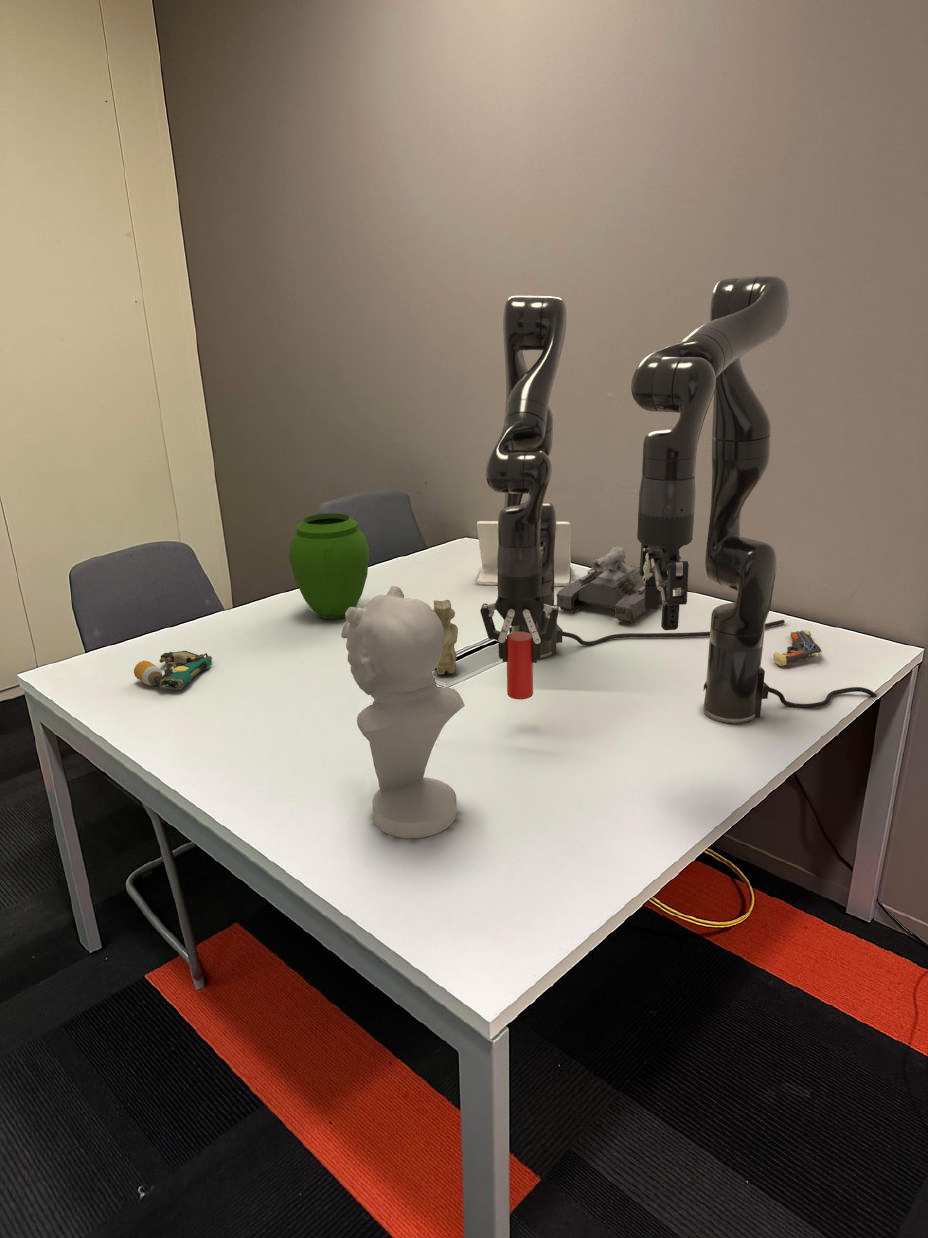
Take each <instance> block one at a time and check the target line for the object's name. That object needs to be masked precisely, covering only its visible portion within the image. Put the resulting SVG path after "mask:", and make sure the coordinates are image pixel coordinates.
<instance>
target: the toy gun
mask: <svg viewBox="0 0 928 1238" xmlns="http://www.w3.org/2000/svg"><path fill="white" fill-rule="evenodd" d="M790 638H791V641H792V642H791V645H790V646H787V647H786V649H787V651H786V653H780V652H777V651H775V652H773V653H772V656H773V660H774V662H775V664H776V665H778V666H780V667H781V666H782V667H783V666H786V665H790V664H795V663H797V662H800V661H804V660H807V659H810V658H811V657H815V656H816V657H819V656H820V654H821V653H823V650H822V649H821V647H820V645H818V644H817V643H816V642H815V641H814V640H813V638H812V632H811V630H800V631H799V630H796V631H791V632H790Z"/></svg>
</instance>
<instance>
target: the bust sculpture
mask: <svg viewBox="0 0 928 1238" xmlns="http://www.w3.org/2000/svg"><path fill="white" fill-rule="evenodd" d="M433 610H434V608H432V607H431V606H430V605H429V604H428V603H427V602H424V601H423V600H420V599H418V598H410V597H405V594H404V593H403V590H402V588H401V587H399V586H397V585H391V586H390V587H389V590H388V592H387V593H386V594H378V595H375V596H374V597H372V598H371V599H370V600H369V601H368V603H366V604H365V606H364V607H358V606H356V607H349V608H348V609H347V611H346V613H345V622H344V623H343V625H342V628H341V629H342V630H341V634H340V638H342V639H346V643H345V648H346V651H347V652H348V653H347V662H348V664H349V666H350V673H351V675H352V678H353V680H354V682H355V683H356V685H357V686H358V688H359V689H360V690H361V691H362V692H364V693H365V694H366V695H369V696H370V697H371V698H373V702H372V704H370V705H368V706H366V707H365V708H363V709H362V710H361V711H360V712H359V713H358V715H357V717H356V725H357V728H358V729H359V731H360V733H361V735H362V736H363V737H364V738H365V739H366V740H367V741H368V742H369V748H370V754H371V757H372V763H373V767H374V772H375V775H376V778H377V781H378V788H379V789H378V790H377V791H376V793H375V794H374V795H373V798H372V802H371V803H372V815H373V818H372V819H373V822H374V824H375V826H376V827H377V828H378V829H379V830H381V831H382V832H383V833H385V834H387V835H389V836H390V835H391V836H392V837H396V838H401V839H420V838H426V837H431V836H434V835H437V834H439V833H441V832H443V831H445V830H446V829H448V828H449V827H450V826H451V825H452V824H453V823H454V822H455V820H456V818H457V814H458V809H457V808H458V807H457V805H458V804H457V795H456V791H455V790H454V789H453V787H451V786H450V785H449V784H448V783H446V782H444V781H442V780H439V779H436V778H432V777H425V773H426V768H427V766H428V763H429V760H430V759H429V758H430V757H431V753H432V751H433V748H434V746H435V745H436V742H437V740H438V737H439V736H440V734H441V732H442V730H443V729H444V727H445V725H446V724H447V723H448V722H449V721H450V720H451V718H452V717H453V716H454V715H456V714H457V713H458V712H459V711H461V710H462V709H463V708H464V707H465V702H464V700H463V698H462V696H461V694H460V693H459V692H458V691H457V690H456V689H454V688H452V687H449V686H438V685H437V682H436V677H434V674H433V672H434V671H435V670H436V669H437V668H436V667H437V666H438V664H439V662H440V659H441V656H442V652H443V647H444V636H445V634H444V628H443V625H442V623H441V620H440V619H439V617H438V615H437V614H436V613H435V612H434V611H433Z"/></svg>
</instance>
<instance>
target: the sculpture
mask: <svg viewBox="0 0 928 1238" xmlns="http://www.w3.org/2000/svg"><path fill="white" fill-rule="evenodd" d="M433 611H434V612H435V613H436V614H437V615H438V617H439V619H440V620H441V623H442V625H443V628H444V634H445V636H444V647H443V652H442V656H441V659H440V662H439V664H438V666H437V667H436V668H435V669H436V671H437V674H438V675H445V674H446V672H447V673H448V674H455V673H456V666H457V665H456V663H457V652H456V649H455V644H456V643H457V642H458V637H459V635H458V634H459V627H458V626H457V624H455V623H453V622H451V621H452V620H453V619H454V618H455V615H456V611H455V609H453V608H452V602H451V601H450V599H445V600H433Z"/></svg>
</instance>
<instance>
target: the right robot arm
mask: <svg viewBox="0 0 928 1238" xmlns="http://www.w3.org/2000/svg"><path fill="white" fill-rule="evenodd" d="M789 288H790V287H789V285H788V284H787V282H786V281H785V280H784V278H781V277H779V276H777V275H758V276H756V275H755V276H743V277H742V276H741V277H740V276H739V277H731V278H730V277H728V278H724V279H723V278H722V279H721V280H719V281H718V282H717V283H716V285H715V286H714V288H713V291H712V295H711V299H710V310H709V313H710V314H709V317H710V318H709V321H708V322H705V323H703V324H702V325H700V326H698V327H697V328H695V329H694V330H692V332H690V333H689V334H688V335H687V336H686V337H684V338H683V339H682V340H681V341H680V342H678V343H674V344H672V345H668V346H666V347H664V348H662V349H659V350H656V351H654V352H653V353H650V354H649V355H648V356H646V357H644V359H643V360H642V361H641V362H639V363H638V366H636V368H635V371H634V373H633V374H632V379H631V382H630V389H631V395H632V399H633V401H634V403H636V405H637V406H638V407H640V408H641V409H643V410H645V411H648V412H656V413H677V414H679V418H678V420H677V422H676V424H675V425H674V426H673V427H669V428H664V429H657V430H652V431H650V432H648V433H647V434H646V436H644V439H643V446H642V447H643V448H642V463H641V464H642V465H641V480H640V486H639V490H638V491H639V492H638V511H637V512H638V513H637V533H636V538H637V541H638V542H639V543H640V557H639V558H640V560H639V567H640V571H639V574H640V576H643V579H642V580H643V583H644V584H646V585H645V588H644V607H645V609H647V610H651V611H653V610H658V609H659V608H660V605H661V619H660V621H661V622H660V627H661V629H662V630H663V631H676V630H678V628H679V620H680V605H687V603H688V588H689V587H688V586H689V567H690V565H689V562H688V560H682V556H680V549H681V548H682V547H684V546H688V545H689V544H691V543H692V541H693V538H694V537H693V536H694V525H695V524H694V521H695V510H696V507H695V506H696V493H697V492H696V477H695V476H696V463H697V452H698V451H697V450H698V444H699V439H700V436H701V433H702V429H703V425H704V422H705V419H706V417H707V416H706V415H707V414H708V411H709V408H710V406H711V404H712V403H713V404H712V427H711V492H710V493H711V494H710V495H711V496H710V511H709V512H710V513H709V521H708V529H707V538H706V546H705V547H706V548H705V558H704V559H705V561H704V565H705V566H704V567H705V572H706V576H707V578H708V580H709V581H710V582H711V583H712V584H714V585H717V586H719V587H723V588H725V589H729V590H732V591H736V592H737V597H736V601H735V602H729V603H724V604H720V605H718V606H716V607H714V608H713V610H712V611H711V615H710V628H709V629H710V630H709V632H710V636H709V639H708V640H709V642H708V656H707V666H706V667H707V668H706V679H705V682H704V684H703V689H702V690H703V692H705V694H704V703H703V710H702V711H703V713H704V714H705V715H706V716H707V717H708V718H709V719H712V720H714V721H716V722H720V723H724V724H734V725H739V724H740V725H741V724H746V723H749V722H752V721H754V720H755V719H760V718H761V713H762V706H763V705H762V703H763V700H768V699H769V693H771V694H773V695H775V696H777V697H778V699H779V701H780V703H781V704H783V705H784V706H786V707H789V708H795V709H807V710H808V709H815V708H822V707H824V706H827V705H828V704H830V702H831V700H832V698H833V697H834V696H838V695H842V694H847V693H857V692H858V693H864V694H867V695H869V696H870V697H872V698H877V697H878V695H877V694H876V693H875V692H874V691H873V690H871V689H869V688H868V687H867V688H866V687H861V686H851V687H844V688H840V689H835V690H832V691H830V692H828V694H826V697H825V699H824V700H822V701H818V702H811V703H795V702H791V701H788V700H786V699H785V695H784V693H782V692H781V691H779V690H778V689H775V688H774V687H770V686H769V685H768V684H767V683H766V682H765V676H766V671H765V669H764V668H763V667H762V658H763V649H764V640H765V639H764V638H765V629H766V628H765V624H766V623H767V622H766V621H767V619H768V616H769V613H770V611H771V606H772V600H773V594H774V593H773V592H774V588H775V582H776V576H777V569H778V560H777V557H778V556H777V553H776V550H775V548H774V547H773V545H771V544H770V543H767V542H764V541H760V540H757V539H752V538H748V537H743V536H742V535H741V520H742V513H743V510H744V506H745V504H746V502H747V500H748V499H749V497H750V496H751V495H752V493H753V491H754V490H755V488H756V487H757V486H758V484H759V483H760V481H761V480H762V478H763V476H764V475H765V473H766V471H767V469H768V468H769V464H770V459H771V443H772V442H771V441H772V423H771V418H770V416H769V413H768V411H767V410H766V408H765V406H764V405H763V402H762V401H761V399H760V397H759V396H758V395H757V393H756V391H755V390H754V388H753V386H752V385H751V384H750V381H749V380H748V378H747V375H746V373H745V371H744V368H743V365H742V360H741V357H742V356H744V355H746V354H747V353H748V352H751V351H752V350H753V349H756V348H757V347H759V346H761V345H762V344H764V343H766V342H768V341H770V340H772V339H773V338H776V337H777V336H778V335H780V334H781V332H782V331H783V330H784V328H785V326H786V324H787V322H788V319H789V315H790V309H791V294H790V293H791V292H790V289H789ZM712 400H713V401H712ZM660 591H661V596H662V603H661V604H660Z"/></svg>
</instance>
